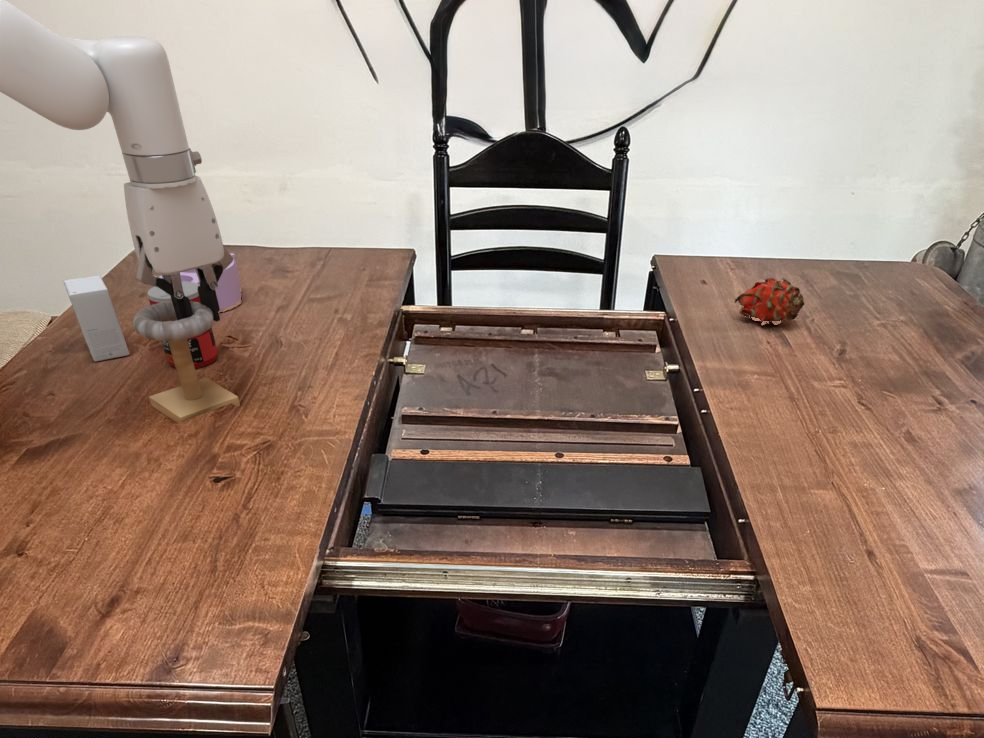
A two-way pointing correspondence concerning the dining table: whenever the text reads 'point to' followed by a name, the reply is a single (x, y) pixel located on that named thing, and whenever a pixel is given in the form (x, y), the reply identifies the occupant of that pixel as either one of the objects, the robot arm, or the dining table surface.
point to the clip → (221, 284)
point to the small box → (97, 317)
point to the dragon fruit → (771, 301)
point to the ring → (172, 322)
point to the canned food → (199, 345)
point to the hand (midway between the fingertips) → (200, 320)
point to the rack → (190, 389)
